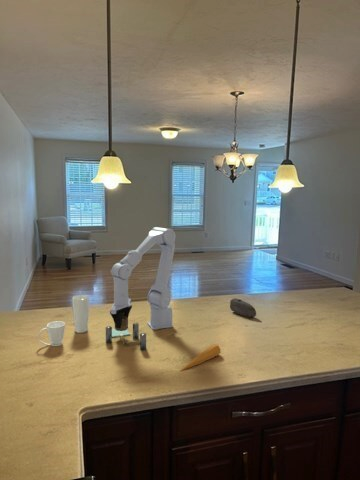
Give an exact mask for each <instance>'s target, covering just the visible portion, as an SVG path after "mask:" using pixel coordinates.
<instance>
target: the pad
mask: <svg viewBox="0 0 360 480" xmlns="http://www.w3.org/2000/svg"><path fill="white" fill-rule="evenodd" d="M120 335H123V337H126V336H131V333H130V331H129V330H128V329H127V330H125V331H117V330H115V327H114V328H112V339H113V338H120Z"/></svg>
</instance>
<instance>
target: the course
mask: <svg viewBox="0 0 360 480" xmlns="http://www.w3.org/2000/svg"><path fill="white" fill-rule="evenodd" d="M139 326H140V323H138V322H133V323H132V339H133V340H131V341H126V338H125V336H123V335H120V337H119V339H120V340H121V341H122V344H123V345H124V347H127V346H133V345H139V350H140V351H146V350H147V333H146V332H141V333H139ZM112 329H113V327H112V326H110V325H107V326H106V327H105V343H106V344H110V343H112V342H113V338H112ZM138 339H139V340H138Z"/></svg>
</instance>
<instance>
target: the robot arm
mask: <svg viewBox="0 0 360 480" xmlns="http://www.w3.org/2000/svg"><path fill="white" fill-rule="evenodd" d="M176 237H177V234H176V233H175V231H174V230H173V229H172V228H164V227H159V226H155V227H152V229H151V230H150V231H148V236H146V238H144V240H143V241H142V242H141V243H140V244H139V246H137V248H136V249H135V250H133V249H132V250H129V251H128V252H127V254H126V255H125V256H124V257H123V258H122V259H120V261H119V262H117V263H115V264H113V266H112V268H111V269H110V274H111V276H112V279H113V304H112V307H111V308H110V311H109V314H110V315H111V318H112V320H113V324H114V328H115V327H116V328H121V325H122V318H123V316H127V317H128V318H129V315H130V314H131V313H130V312H131V310H132V308H133V305H132V299H131V298H129V278H131V275H132V272H133V270H134V269H135V267H137V265H138V264H140V262H141V261H142V260H143V259H142V258H143V255H144V254H145V253H146V252H148V251H149V250H150V249H151V248H152V247H153V246H154V245H158V246H159V247H160V249H161V253H160V259H159V261H158V268H157V272H156V279H155V283H154V284H153V285H151V286H150V289H149V292H148V294H147V296H146V300H147V303H149V307H150V321H147V324H148V325H149V327H150V329H152V330H153V331H155V330H161V329H169V328H173V327H174V326H173V308H172V306H171V305H170V304H171V290H170V288H169V286H168V285H169V279H170V274H171V269H172V266H173V260H174V254H175V250H176V244H175V243H176V242H175V241H176Z"/></svg>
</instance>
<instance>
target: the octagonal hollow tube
mask: <svg viewBox="0 0 360 480" xmlns="http://www.w3.org/2000/svg"><path fill="white" fill-rule="evenodd" d="M114 328H115V330H117V331H125V330H128V329H129V316H128V317H127V316H123V318H122V325H121V328H116V327H115V326H114Z"/></svg>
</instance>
